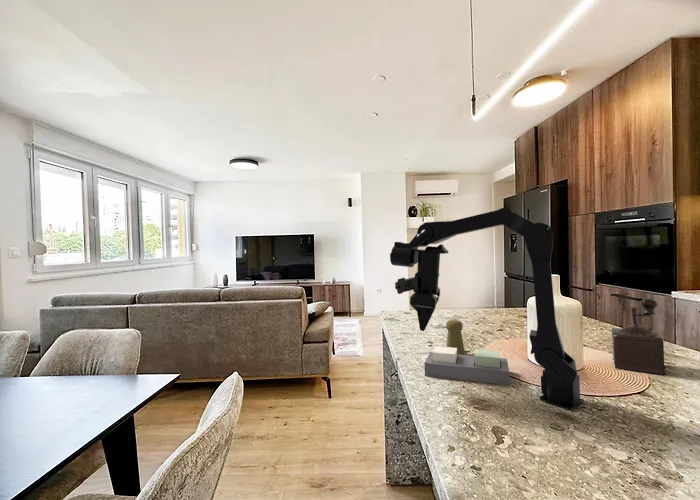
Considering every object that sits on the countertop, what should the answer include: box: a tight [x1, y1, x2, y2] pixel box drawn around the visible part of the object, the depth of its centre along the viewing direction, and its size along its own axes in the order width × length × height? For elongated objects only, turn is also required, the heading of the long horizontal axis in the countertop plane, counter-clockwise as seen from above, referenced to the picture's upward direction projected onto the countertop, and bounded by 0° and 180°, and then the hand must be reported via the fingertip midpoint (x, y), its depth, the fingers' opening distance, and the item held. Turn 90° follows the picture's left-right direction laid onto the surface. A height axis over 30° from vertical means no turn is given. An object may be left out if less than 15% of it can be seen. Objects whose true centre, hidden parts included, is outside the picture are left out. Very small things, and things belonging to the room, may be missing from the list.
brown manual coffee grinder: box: [611, 298, 667, 376], centre depth 93 cm, size 16×11×18 cm
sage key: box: [474, 349, 501, 368], centre depth 89 cm, size 6×6×3 cm
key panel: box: [424, 351, 511, 386], centre depth 91 cm, size 21×10×4 cm, turn 67°
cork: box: [445, 319, 466, 355], centre depth 108 cm, size 6×6×11 cm
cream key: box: [432, 345, 457, 364], centre depth 93 cm, size 6×6×3 cm
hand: (424, 326), depth 89 cm, fingers open, 9 cm apart
